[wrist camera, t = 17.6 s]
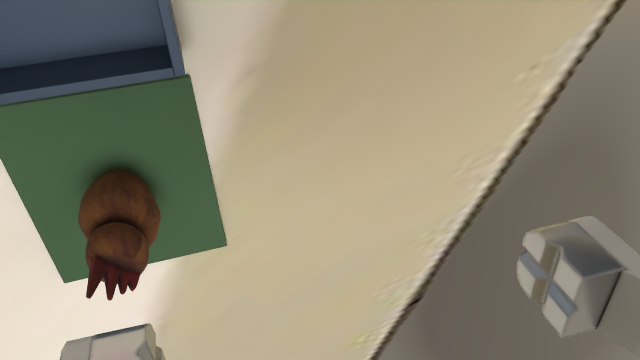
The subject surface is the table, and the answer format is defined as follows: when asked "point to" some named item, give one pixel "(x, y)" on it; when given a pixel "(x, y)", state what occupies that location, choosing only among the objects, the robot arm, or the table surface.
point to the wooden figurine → (117, 230)
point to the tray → (84, 46)
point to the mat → (112, 164)
